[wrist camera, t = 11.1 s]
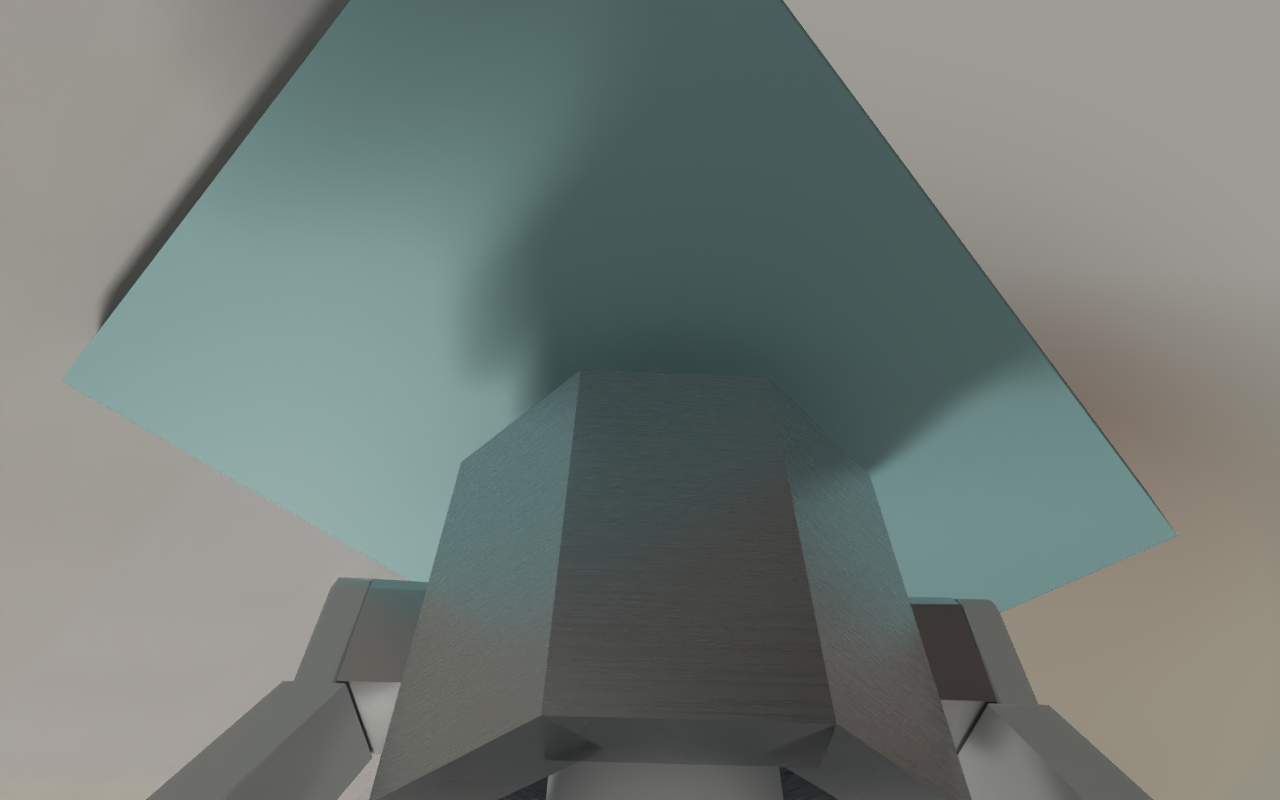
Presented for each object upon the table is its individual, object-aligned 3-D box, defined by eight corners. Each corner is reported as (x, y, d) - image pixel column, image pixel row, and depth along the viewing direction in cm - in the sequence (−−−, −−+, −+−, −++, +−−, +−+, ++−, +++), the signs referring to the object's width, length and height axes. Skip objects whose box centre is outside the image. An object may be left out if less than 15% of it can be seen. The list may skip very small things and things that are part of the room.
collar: (899, 381, 11) (1043, 729, 7) (817, 643, 15) (879, 960, 11) (446, 364, 11) (329, 709, 7) (485, 633, 14) (426, 949, 11)
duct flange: (1151, 497, 16) (1483, 982, 9) (693, 708, 21) (711, 1109, 15) (575, -280, 8) (340, -431, 2) (94, 345, 14) (-381, 836, 7)
